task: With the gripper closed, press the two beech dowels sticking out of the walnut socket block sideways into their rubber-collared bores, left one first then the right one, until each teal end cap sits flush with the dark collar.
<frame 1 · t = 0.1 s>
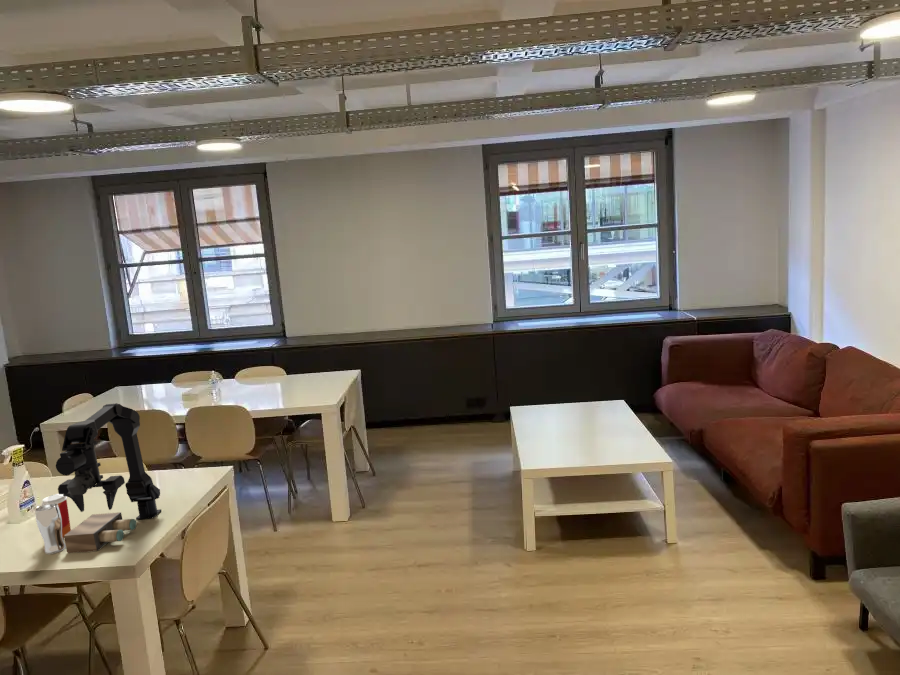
hand: (96, 510, 214), 15 cm above the table, fingers open, 9 cm apart
dowel right: (107, 536, 222), point 3 cm above the table, slide at 0.0 cm
dowel left: (120, 525, 230), point 3 cm above the table, slide at 0.0 cm
red canister: (62, 536, 234), on the table
socket block: (96, 540, 227), on the table
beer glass: (55, 550, 223), on the table
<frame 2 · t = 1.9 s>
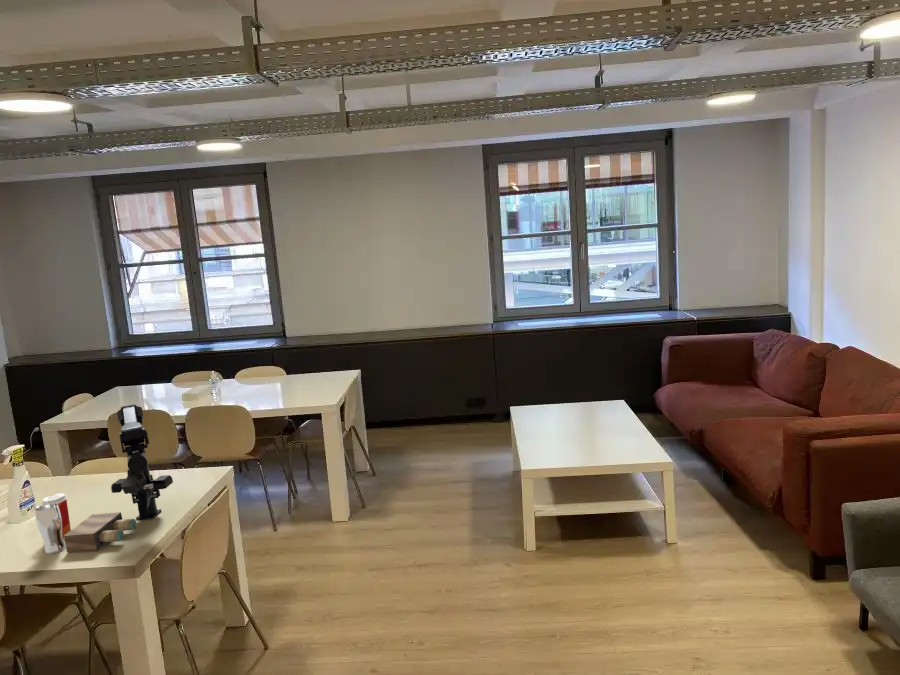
hand: (146, 507, 228), 8 cm above the table, fingers closed
nothing on the table moved.
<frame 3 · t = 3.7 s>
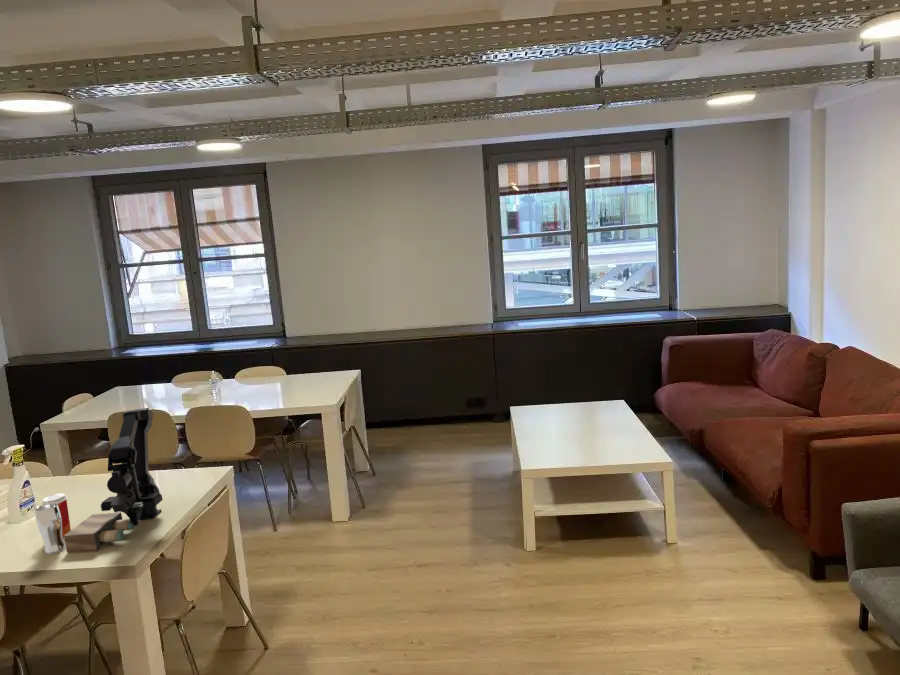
hand: (136, 525, 229), 2 cm above the table, fingers closed
dowel left: (119, 525, 230), point 3 cm above the table, slide at 0.5 cm, touching gripper
everything else where it was.
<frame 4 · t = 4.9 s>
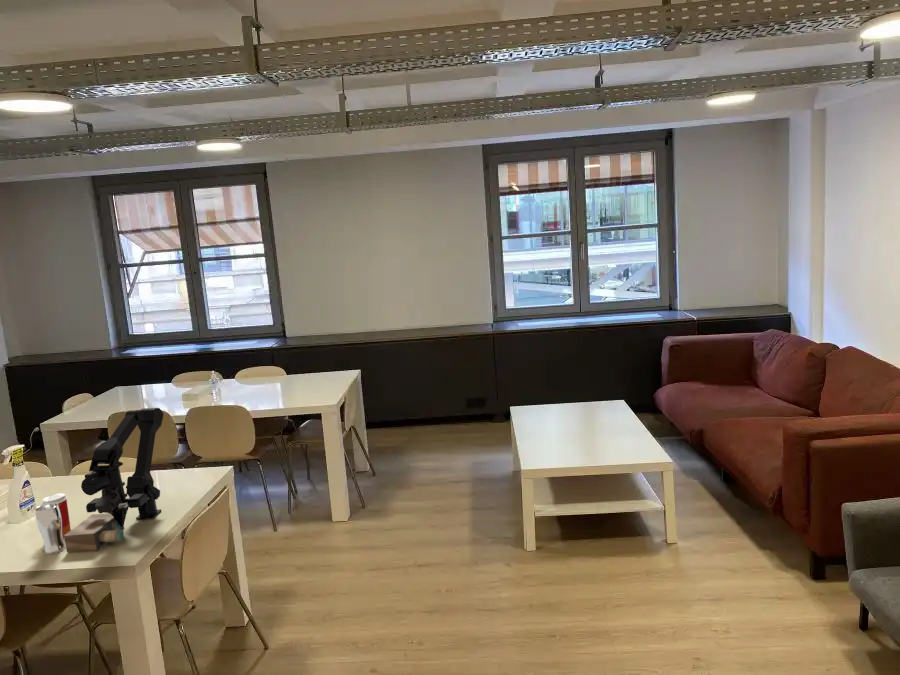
hand: (122, 526, 230), 3 cm above the table, fingers closed
dowel left: (105, 526, 230), point 3 cm above the table, slide at 5.4 cm, touching gripper
everything else where it was.
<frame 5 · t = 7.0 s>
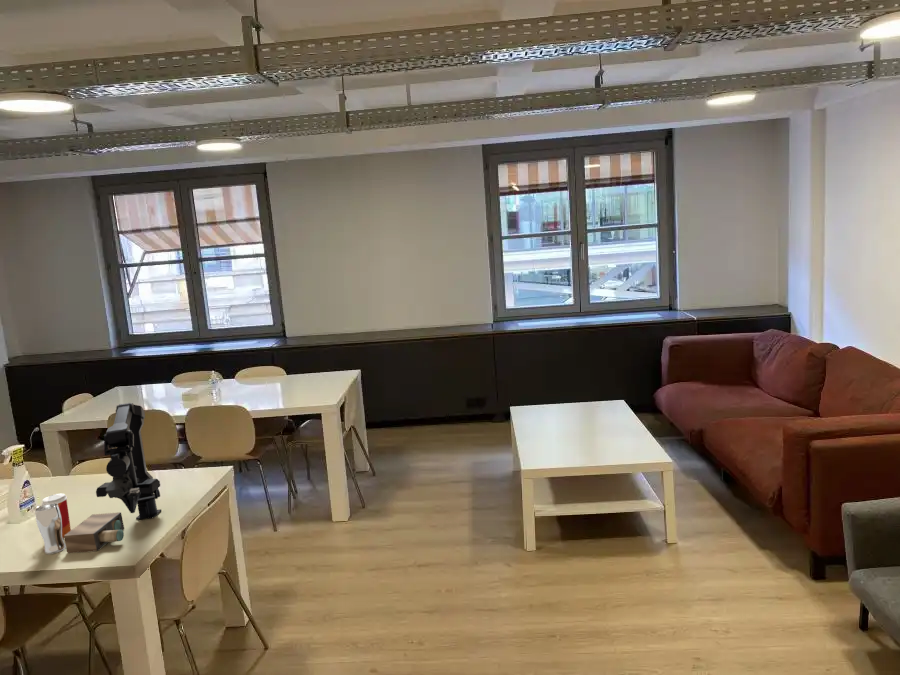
hand: (132, 512, 220), 10 cm above the table, fingers closed
dowel left: (105, 526, 230), point 3 cm above the table, slide at 5.4 cm
everything else where it was.
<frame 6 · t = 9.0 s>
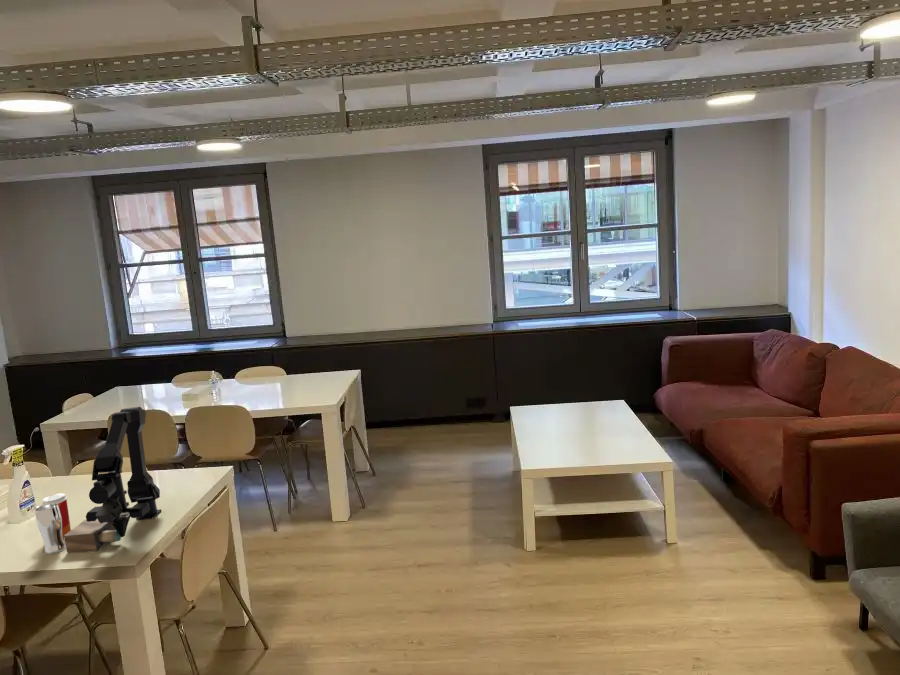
hand: (123, 536, 221), 2 cm above the table, fingers closed
dowel right: (105, 536, 222), point 3 cm above the table, slide at 0.8 cm, touching gripper
everything else where it was.
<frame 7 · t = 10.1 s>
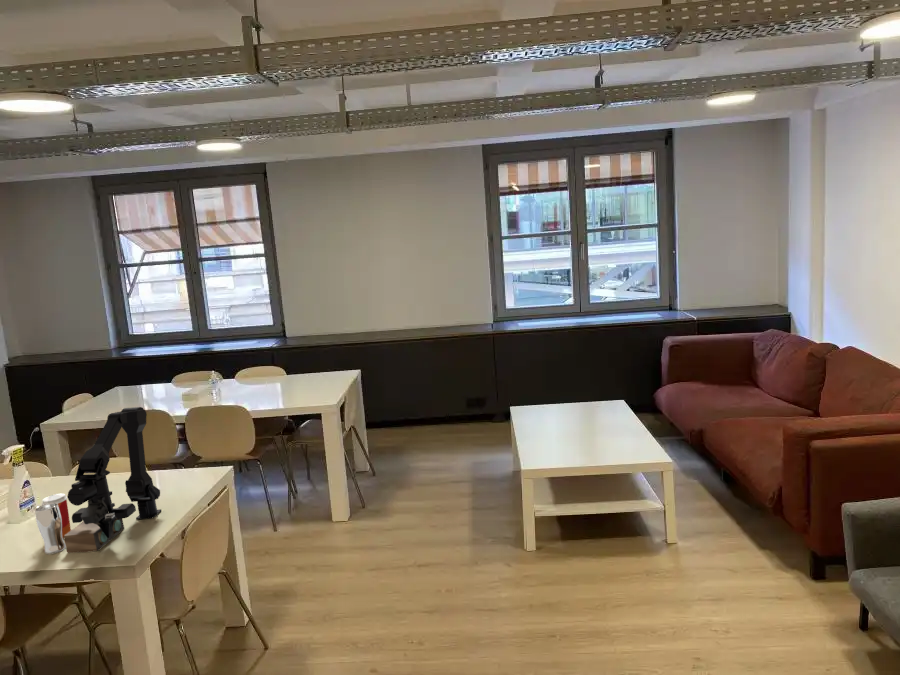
hand: (109, 537, 222), 3 cm above the table, fingers closed
dowel right: (91, 537, 222), point 3 cm above the table, slide at 5.4 cm, touching gripper
everything else where it was.
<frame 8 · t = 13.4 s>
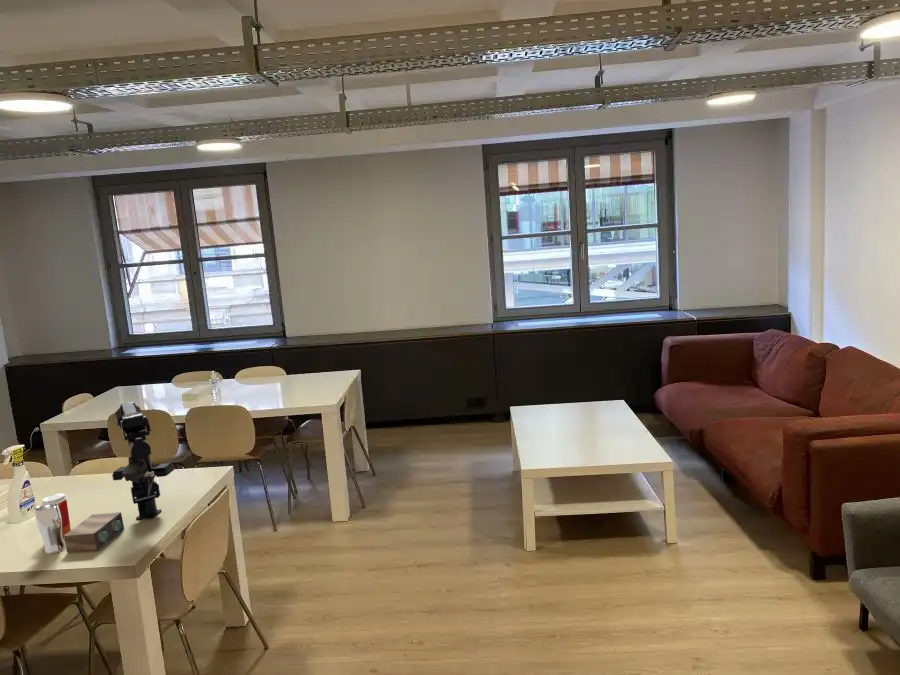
hand: (147, 495, 229), 12 cm above the table, fingers closed
dowel right: (91, 537, 222), point 3 cm above the table, slide at 5.4 cm
everything else where it was.
at the end: dowel left slide at 5.4 cm; dowel right slide at 5.4 cm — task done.
